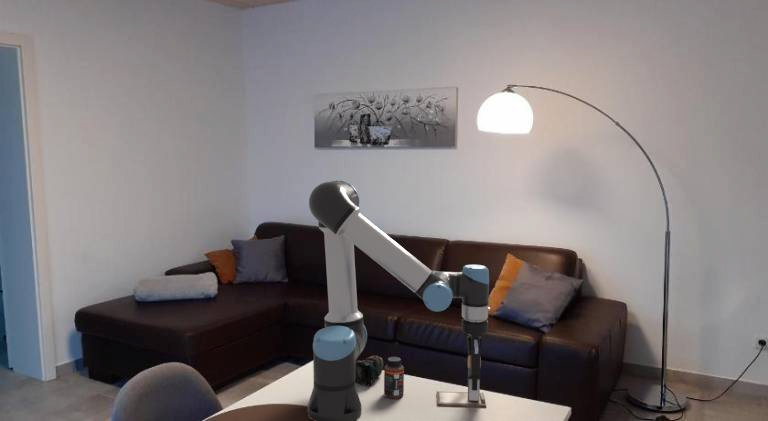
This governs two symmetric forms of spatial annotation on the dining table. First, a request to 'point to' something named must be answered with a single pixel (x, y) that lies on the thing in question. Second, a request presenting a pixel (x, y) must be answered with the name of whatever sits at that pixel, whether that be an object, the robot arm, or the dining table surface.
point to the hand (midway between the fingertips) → (473, 396)
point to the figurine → (368, 370)
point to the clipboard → (458, 399)
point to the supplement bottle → (394, 378)
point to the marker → (468, 380)
